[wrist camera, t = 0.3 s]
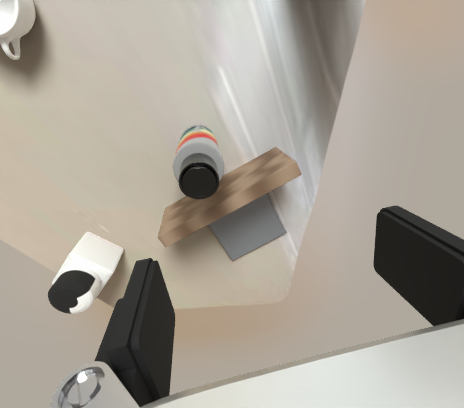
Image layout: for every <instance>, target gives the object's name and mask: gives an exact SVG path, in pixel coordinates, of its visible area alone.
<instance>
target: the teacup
mask: <svg viewBox="0 0 464 408" xmlns="http://www.w3.org/2000/svg"><path fill="white" fill-rule="evenodd" d="M34 21H35V7H34V3H33V0H0V44H1V46H2V48H3V50H4V52H5V53H6V55H7V56H8V57H9V58H11V59H13V60H18V59H19V58H20V38H21V37H22V36H24V35H25V34H27V33H28V32H29V31H30V30H31V28H32V26H33V24H34ZM10 42H11V43H12V45H13V47H14V51H15V55H13V54H12V53H11V52H10V50H9V43H10Z"/></svg>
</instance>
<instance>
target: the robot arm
mask: <svg viewBox="0 0 464 408" xmlns="http://www.w3.org/2000/svg"><path fill="white" fill-rule="evenodd" d="M374 269H375V271H376V272H377V273H378V274H379V275H380V276H381V277H382V278H383V279H384V280H385V281H386V282H387V283H389V285H390V286H392V287H393V288H394V289H395V290H396V291H397V292H398V293H399V294H400V295H401V296H402V297H403V298H404V299H405V300H406V301H408V302H409V303H410V304H411V305H412V306H413V307H414V308H415V309H416V310H417V311H418V312H419V313H420V314H421V315H422V316H423V317H425V318H426V319H427V320H428V321H429V322H430V323H431V324H432V325H433V327H429V328H425V329H421V330H417V331H413V332H409V333H404V334H401V335H396V336H392V337H388V338H384V339H381V340H376V341H372V342H369V343H364V344H361V345H356V346H353V347H348V348H344V349H341V350H337V351H333V352H329V353H325V354H321V355H317V356H313V357H309V358H305V359H301V360H298V361H294V362H290V363H286V364H282V365H278V366H274V367H270V368H266V369H262V370H259V371H255V372H251V373H247V374H243V375H239V376H235V377H232V378H228V379H225V380H221V381H217V382H214V383H210V384H207V385H203V386H199V387H196V388H192V389H189V390H185V391H182V392H179V393H176V394H173V395H170V396H169V392H170V378H171V365H172V353H173V340H174V327H175V313H174V309H173V306H172V303H171V300H170V297H169V294H168V291H167V288H166V285H165V282H164V279H163V275H162V272H161V269H160V266H159V263H158V261H157V260H156V261H153V260H152V258H149V259H144V260H139V261H136V263H135V266H134V269H133V272H132V274H131V277H130V280H129V283H128V286H127V289H126V292H125V295H124V297H123V298H122V299H119V300H118V301H117V303H116V305H115V308H114V310H113V313H112V316H111V318H110V321H109V324H108V327H107V330H106V332H105V335H104V337H103V340H102V343H101V345H100V348H99V351H98V353H97V356H96V359H95V361H94V362H90V363H87V364H85V365H83V366H81V367H79V368H77V369H76V370H74V371H73V372H72V373H71V374H69V376H67V377H66V378H65V379H64V380H63V382H62V383H61V384H60V385H59V387H58V388H57V390H56V392H55V394H54V395H53V398H52V402H51V408H464V240H463V239H461V238H459V237H457V236H455V235H453V234H451V233H449V232H447V231H446V230H444V229H442V228H440V227H438V226H436V225H434V224H432V223H430V222H428V221H426V220H424V219H422V218H420V217H419V216H416V215H415V214H413V213H411V212H409V211H407V210H405V209H403V208H401V207H399V206H391V207H386V208H382V209H381V210H380V212H379V213H378V214H377V222H376V237H375V251H374Z"/></svg>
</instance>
